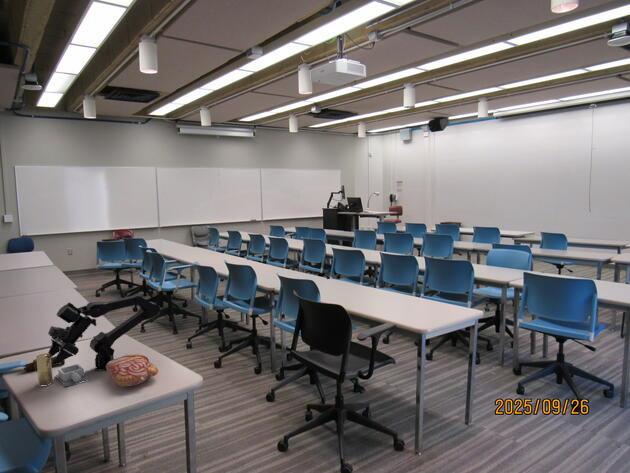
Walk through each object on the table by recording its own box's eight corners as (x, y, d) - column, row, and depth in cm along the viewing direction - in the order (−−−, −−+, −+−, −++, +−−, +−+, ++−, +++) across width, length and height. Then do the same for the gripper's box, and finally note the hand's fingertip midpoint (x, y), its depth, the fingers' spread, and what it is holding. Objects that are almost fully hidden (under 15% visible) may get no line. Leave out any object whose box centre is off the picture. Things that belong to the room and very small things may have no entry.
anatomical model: (118, 378, 160) (99, 355, 183) (119, 397, 161) (101, 371, 184) (164, 366, 170) (140, 346, 194) (164, 384, 171) (141, 361, 194)
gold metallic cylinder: (55, 381, 175) (52, 353, 174) (48, 386, 170) (46, 357, 169) (43, 381, 175) (40, 353, 173) (36, 386, 170) (33, 357, 169)
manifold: (79, 369, 186) (78, 361, 185) (89, 380, 175) (89, 371, 175) (55, 376, 179) (55, 368, 179) (65, 387, 169) (64, 378, 169)
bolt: (24, 375, 185) (64, 365, 194) (25, 373, 181) (65, 363, 191) (22, 362, 187) (61, 353, 196) (22, 360, 183) (62, 350, 192)
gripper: (55, 314, 181) (26, 346, 175) (67, 323, 168) (36, 358, 161) (77, 327, 187) (50, 359, 181) (90, 338, 174) (62, 372, 168)
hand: (49, 361), depth 173 cm, fingers open, 9 cm apart
